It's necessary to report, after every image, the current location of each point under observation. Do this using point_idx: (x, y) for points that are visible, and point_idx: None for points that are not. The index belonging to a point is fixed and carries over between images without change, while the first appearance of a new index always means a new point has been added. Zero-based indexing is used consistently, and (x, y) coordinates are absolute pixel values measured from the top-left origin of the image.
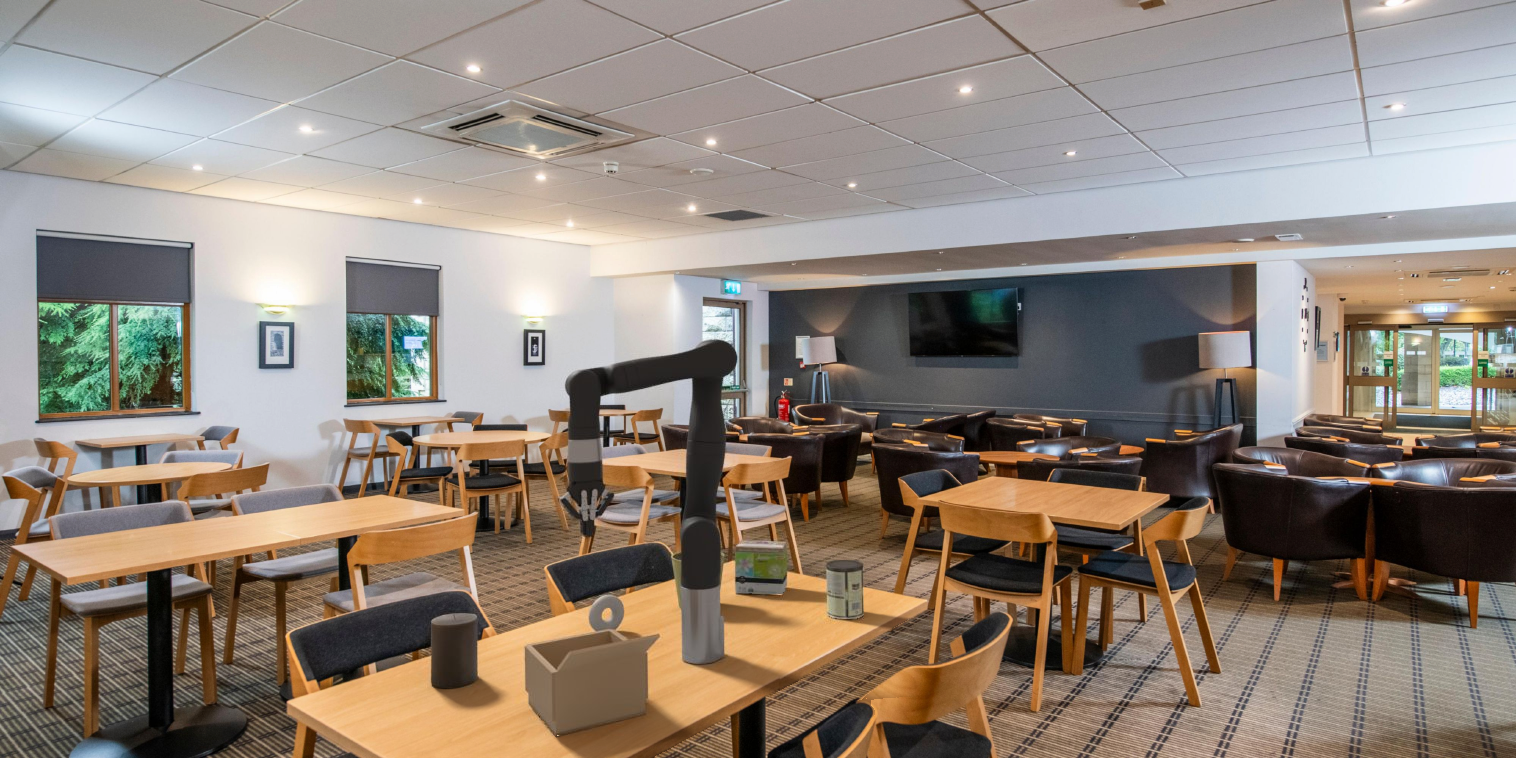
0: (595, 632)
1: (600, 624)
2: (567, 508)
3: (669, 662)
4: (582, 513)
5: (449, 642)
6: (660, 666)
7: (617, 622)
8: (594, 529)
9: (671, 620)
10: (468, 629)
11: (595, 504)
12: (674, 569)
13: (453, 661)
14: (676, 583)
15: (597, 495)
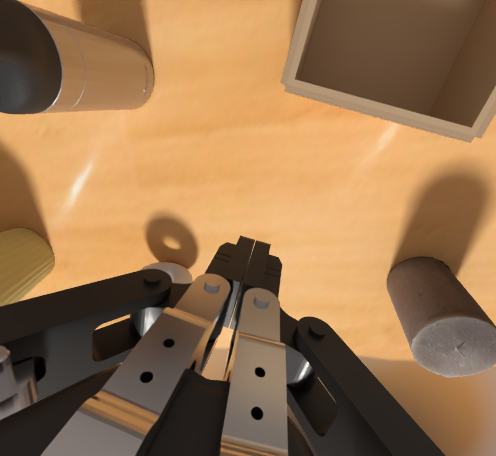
0: (321, 94)
1: (182, 271)
2: (414, 421)
3: (173, 99)
4: (278, 332)
5: (478, 305)
6: (192, 96)
7: (157, 264)
8: (218, 250)
9: (84, 238)
10: (453, 307)
11: (158, 333)
12: (10, 301)
13: (457, 282)
14: (28, 286)
15: (70, 418)
